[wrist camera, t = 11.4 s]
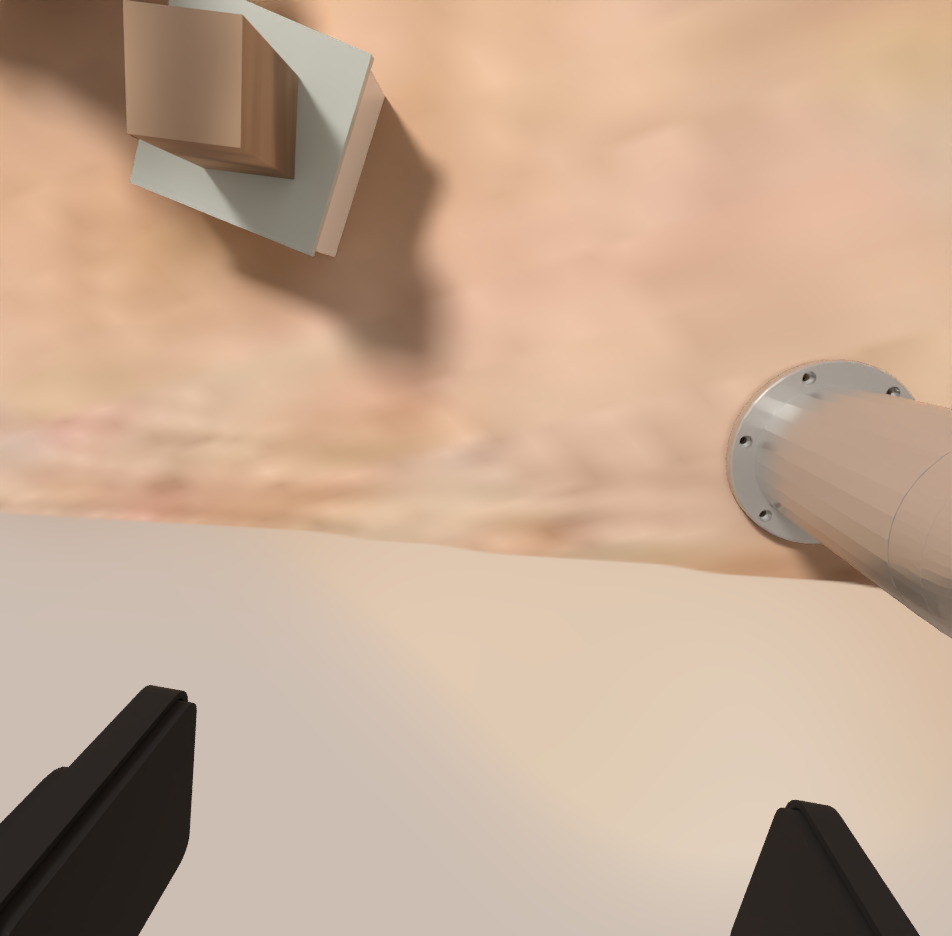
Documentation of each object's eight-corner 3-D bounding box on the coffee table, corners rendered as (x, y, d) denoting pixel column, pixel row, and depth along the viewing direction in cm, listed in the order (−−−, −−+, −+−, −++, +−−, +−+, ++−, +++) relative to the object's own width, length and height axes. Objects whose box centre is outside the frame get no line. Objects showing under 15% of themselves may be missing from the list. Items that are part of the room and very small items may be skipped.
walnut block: (298, 76, 32) (242, 14, 25) (294, 179, 33) (240, 147, 26) (204, 64, 32) (122, 0, 25) (203, 168, 33) (126, 133, 26)
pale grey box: (392, 94, 37) (371, 54, 31) (338, 263, 40) (310, 255, 34) (227, 24, 36) (175, -30, 31) (184, 201, 39) (129, 182, 33)
